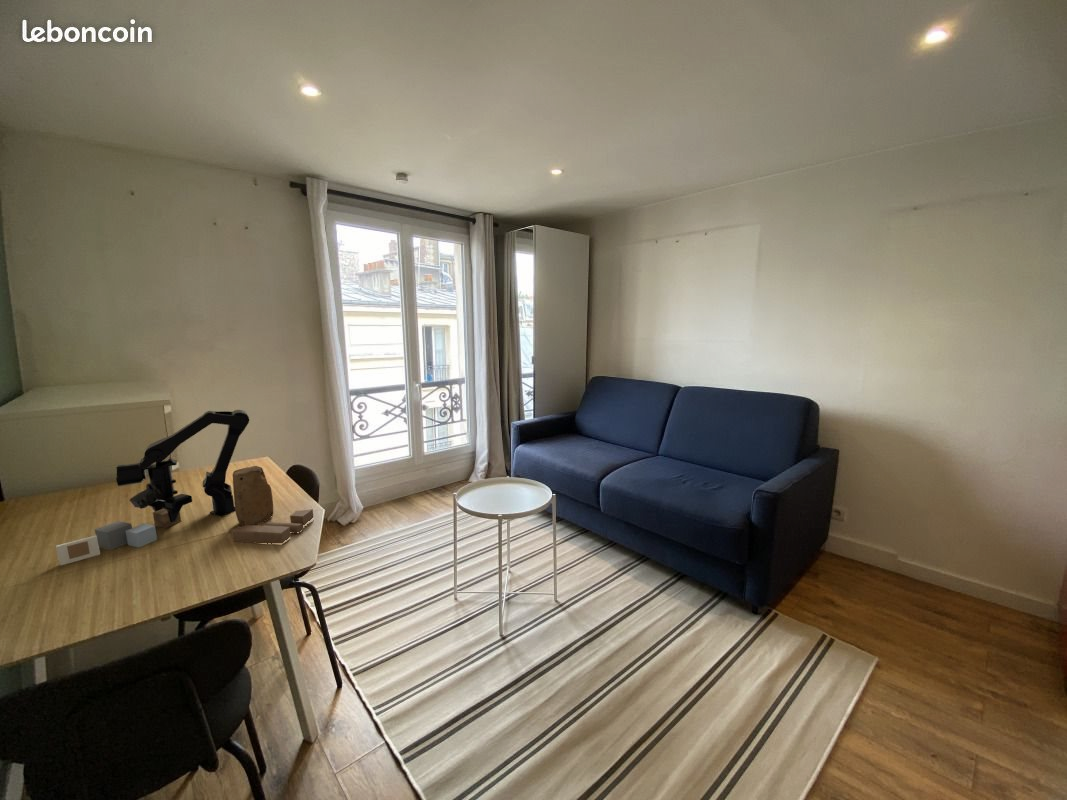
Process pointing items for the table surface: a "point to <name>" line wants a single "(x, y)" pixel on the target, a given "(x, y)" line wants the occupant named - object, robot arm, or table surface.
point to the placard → (78, 550)
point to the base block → (112, 535)
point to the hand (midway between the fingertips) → (167, 520)
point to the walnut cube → (164, 518)
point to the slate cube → (141, 535)
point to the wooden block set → (273, 529)
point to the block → (252, 496)
